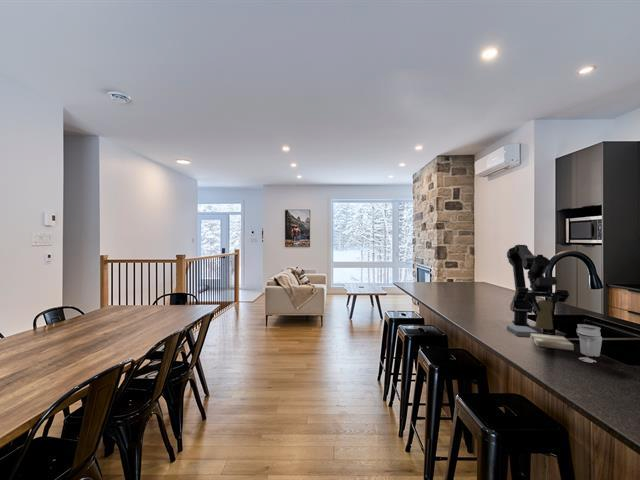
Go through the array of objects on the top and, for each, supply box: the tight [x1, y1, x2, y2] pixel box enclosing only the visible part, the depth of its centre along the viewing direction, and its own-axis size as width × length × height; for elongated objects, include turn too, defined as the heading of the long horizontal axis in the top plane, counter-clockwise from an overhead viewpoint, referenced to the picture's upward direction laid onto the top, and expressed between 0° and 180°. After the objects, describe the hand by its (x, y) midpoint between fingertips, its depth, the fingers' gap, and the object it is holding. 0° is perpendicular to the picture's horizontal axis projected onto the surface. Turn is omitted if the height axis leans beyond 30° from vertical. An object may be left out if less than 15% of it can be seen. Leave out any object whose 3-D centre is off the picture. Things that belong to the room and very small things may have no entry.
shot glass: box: [579, 335, 603, 358], centre depth 127 cm, size 7×7×7 cm
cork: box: [535, 299, 554, 330], centre depth 138 cm, size 6×6×11 cm
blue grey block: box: [506, 325, 539, 337], centre depth 152 cm, size 9×9×2 cm
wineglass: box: [576, 323, 602, 364], centre depth 120 cm, size 7×7×12 cm
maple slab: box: [529, 333, 575, 351], centre depth 138 cm, size 12×12×2 cm
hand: (546, 312), depth 136 cm, fingers closed on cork, 5 cm apart
